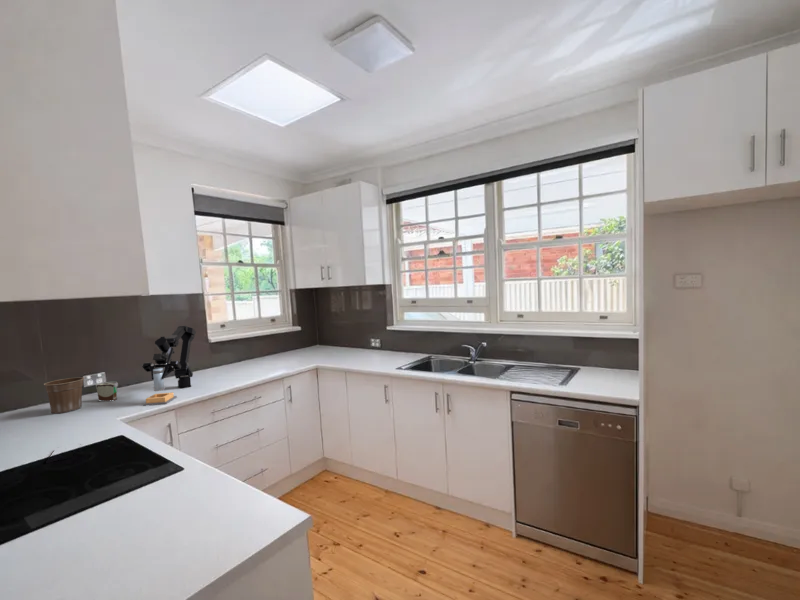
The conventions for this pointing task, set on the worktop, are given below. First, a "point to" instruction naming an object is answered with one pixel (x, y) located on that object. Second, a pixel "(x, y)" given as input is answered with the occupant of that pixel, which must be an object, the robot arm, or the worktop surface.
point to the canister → (158, 379)
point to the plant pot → (65, 394)
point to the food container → (107, 391)
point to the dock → (160, 399)
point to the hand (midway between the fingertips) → (157, 378)
